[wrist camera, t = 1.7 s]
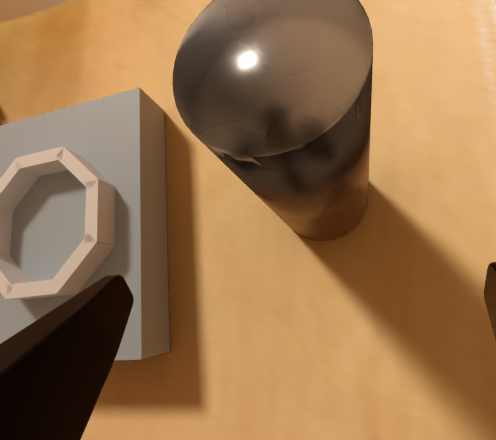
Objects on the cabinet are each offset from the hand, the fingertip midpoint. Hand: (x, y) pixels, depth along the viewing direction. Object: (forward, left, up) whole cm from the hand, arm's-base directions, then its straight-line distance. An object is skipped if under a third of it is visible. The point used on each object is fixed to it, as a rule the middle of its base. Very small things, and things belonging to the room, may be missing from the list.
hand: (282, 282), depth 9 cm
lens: (+5, 0, -12) cm, 13 cm away
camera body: (+5, +16, -12) cm, 20 cm away
